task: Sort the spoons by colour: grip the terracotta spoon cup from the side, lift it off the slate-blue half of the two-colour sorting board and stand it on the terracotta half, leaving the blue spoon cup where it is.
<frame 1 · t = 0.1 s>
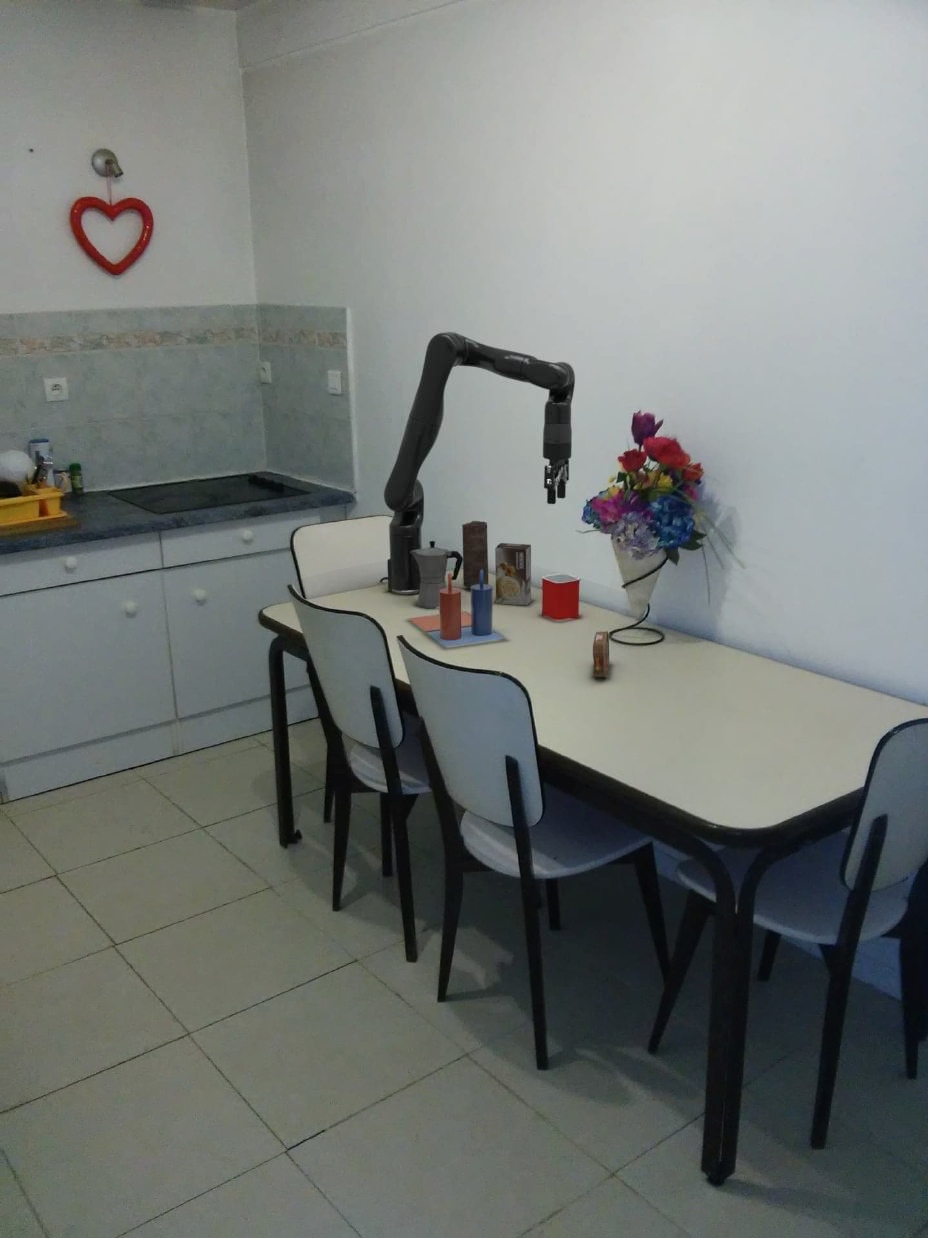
hand: (556, 500, 285), 29 cm above the table, tool pointing down, fingers open, 8 cm apart
tin: (600, 672, 243), on the table
candle: (475, 589, 312), on the table
coffee box: (513, 602, 298), on the table
mug: (556, 615, 286), on the table
sorting board: (455, 630, 274), on the table
coffeepot: (437, 605, 296), on the table
terracotta spoon cup: (450, 637, 266), point 1 cm above the table, touching sorting board
blue spoon cup: (481, 632, 269), point 1 cm above the table, touching sorting board
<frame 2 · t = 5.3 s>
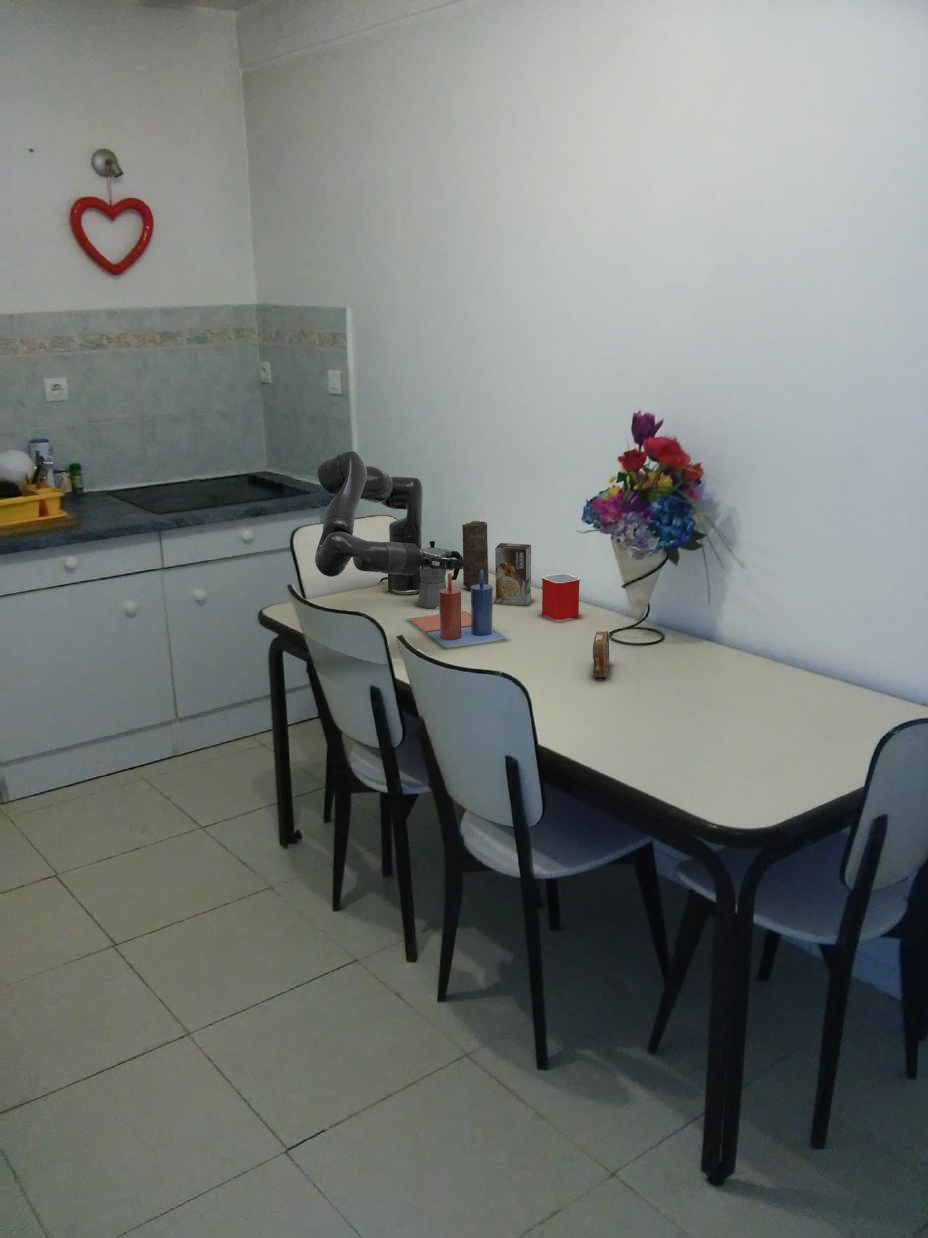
hand: (452, 562, 258), 20 cm above the table, tool horizontal, fingers open, 8 cm apart
nothing on the table moved.
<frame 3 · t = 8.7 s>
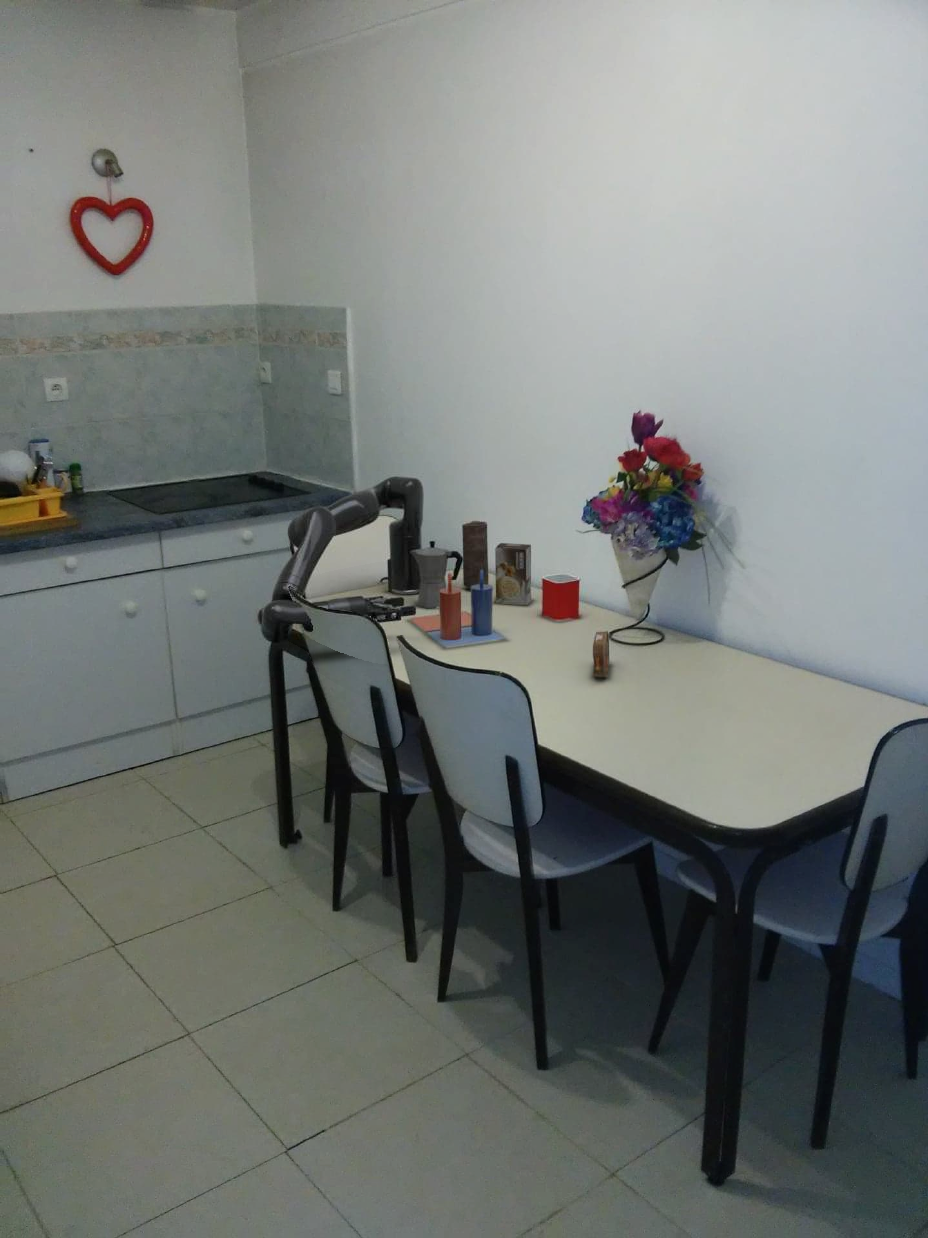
hand: (409, 605, 259), 10 cm above the table, tool horizontal, fingers open, 8 cm apart
nothing on the table moved.
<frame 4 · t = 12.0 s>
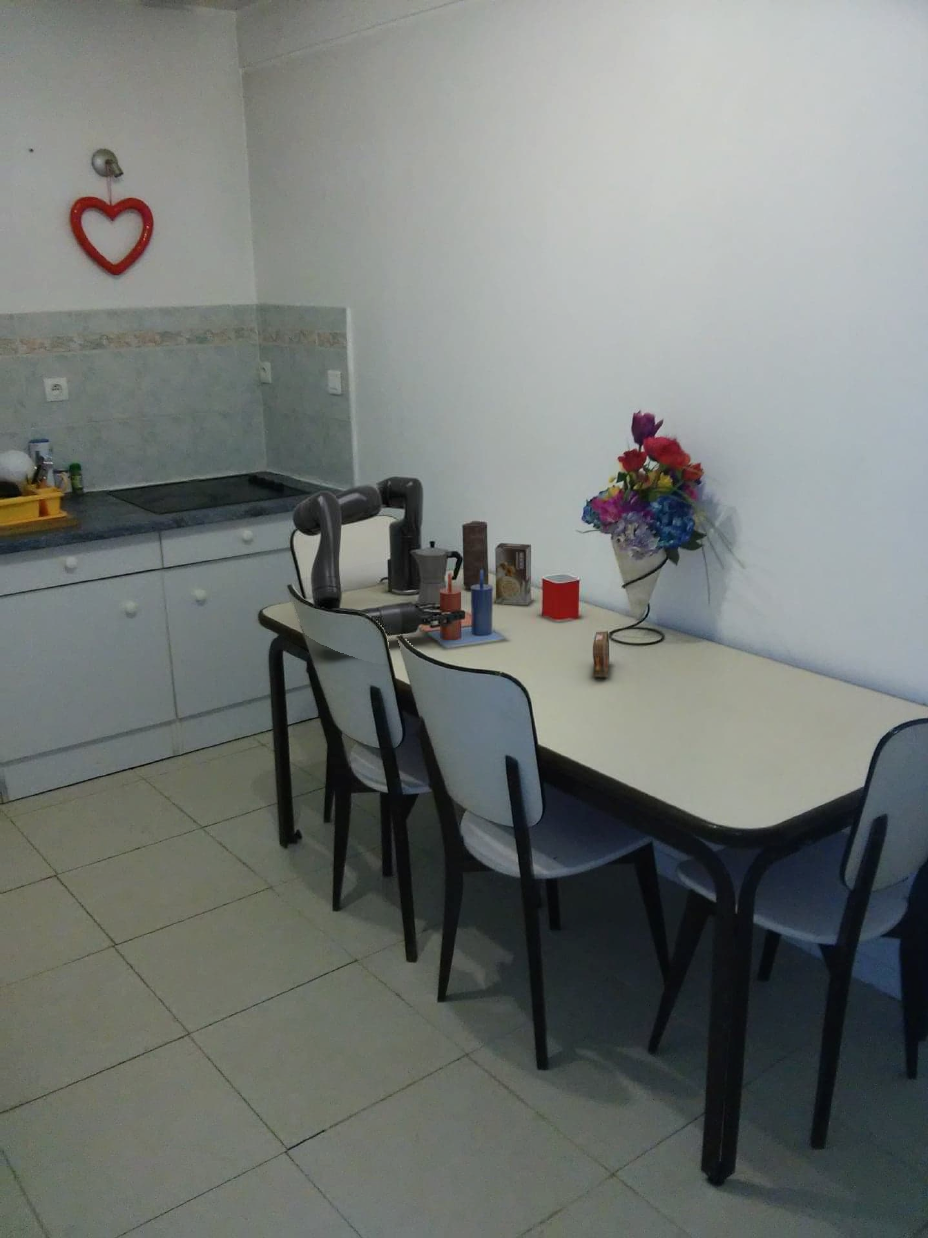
hand: (459, 611, 265), 7 cm above the table, tool horizontal, fingers closed on terracotta spoon cup, 5 cm apart
terracotta spoon cup: (450, 637, 266), point 1 cm above the table, touching gripper, sorting board
everything else where it was.
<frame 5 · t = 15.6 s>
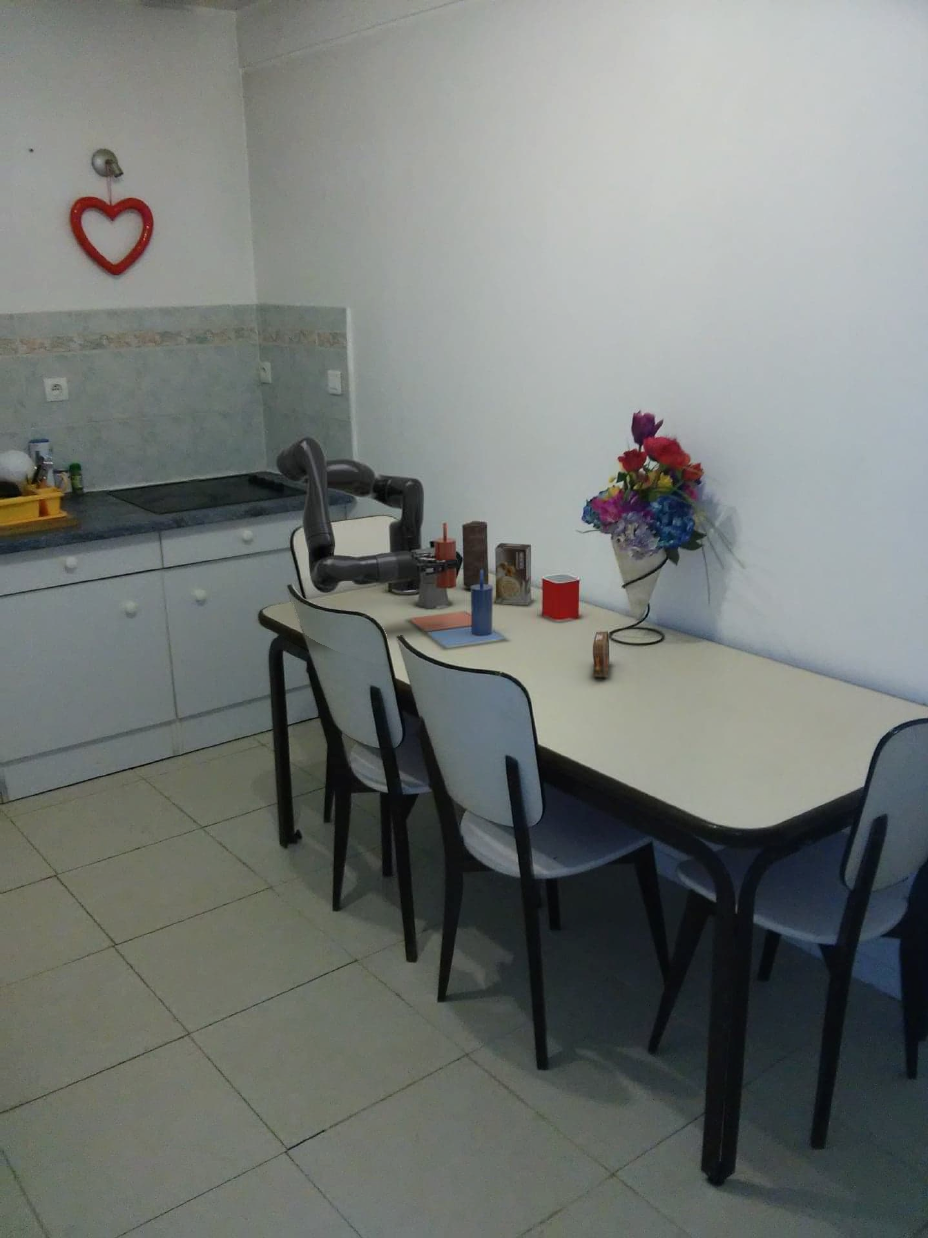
hand: (454, 560, 271), 18 cm above the table, tool horizontal, fingers closed on terracotta spoon cup, 5 cm apart
terracotta spoon cup: (445, 585, 272), point 11 cm above the table, touching gripper
everything else where it was.
when the fingers open (7 cm above the table, at t = 19.5 s): terracotta spoon cup stays where it is, resting on sorting board.
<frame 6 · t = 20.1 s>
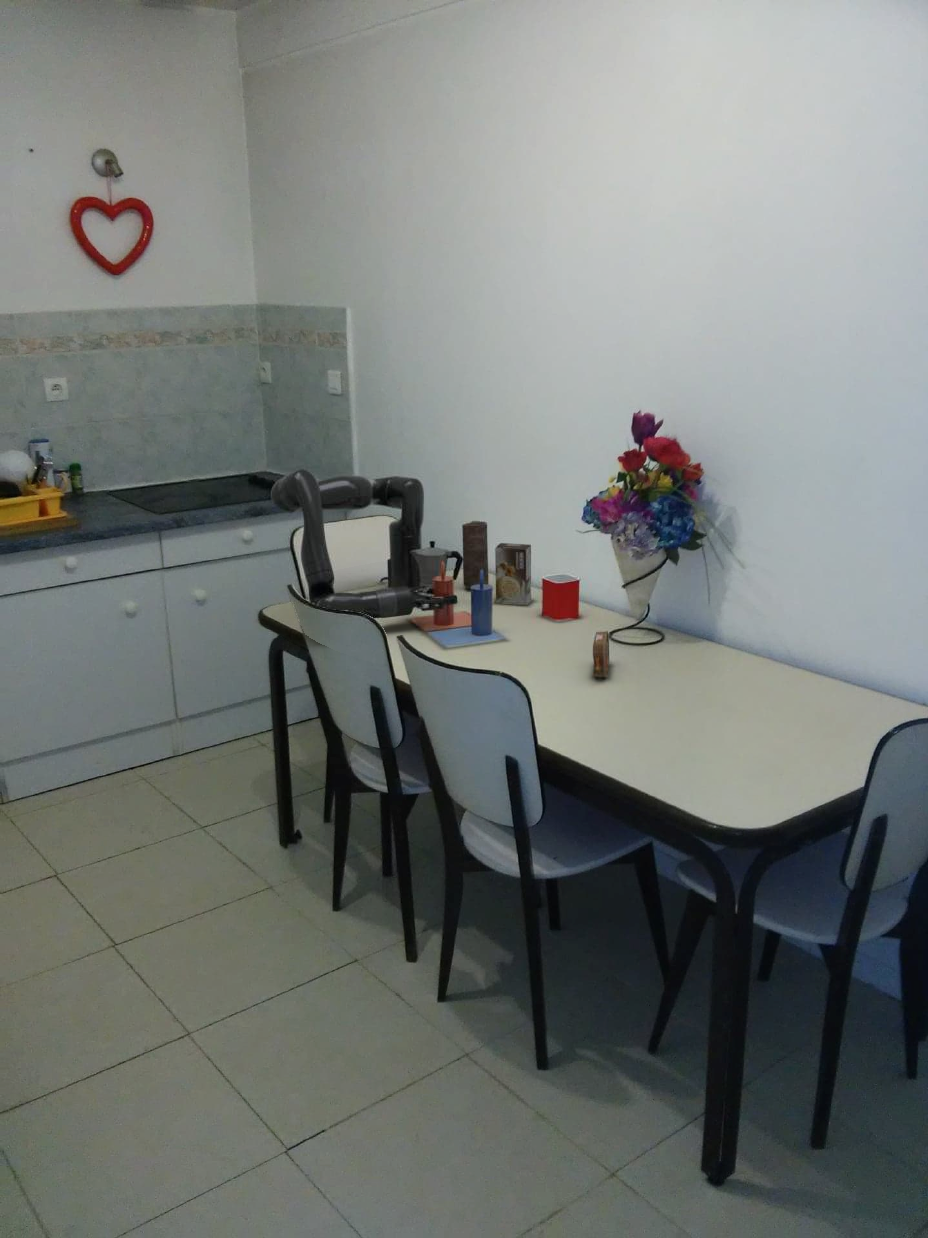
hand: (450, 594, 277), 8 cm above the table, tool horizontal, fingers open, 8 cm apart
terracotta spoon cup: (443, 622, 278), point 1 cm above the table, touching sorting board
everything else where it was.
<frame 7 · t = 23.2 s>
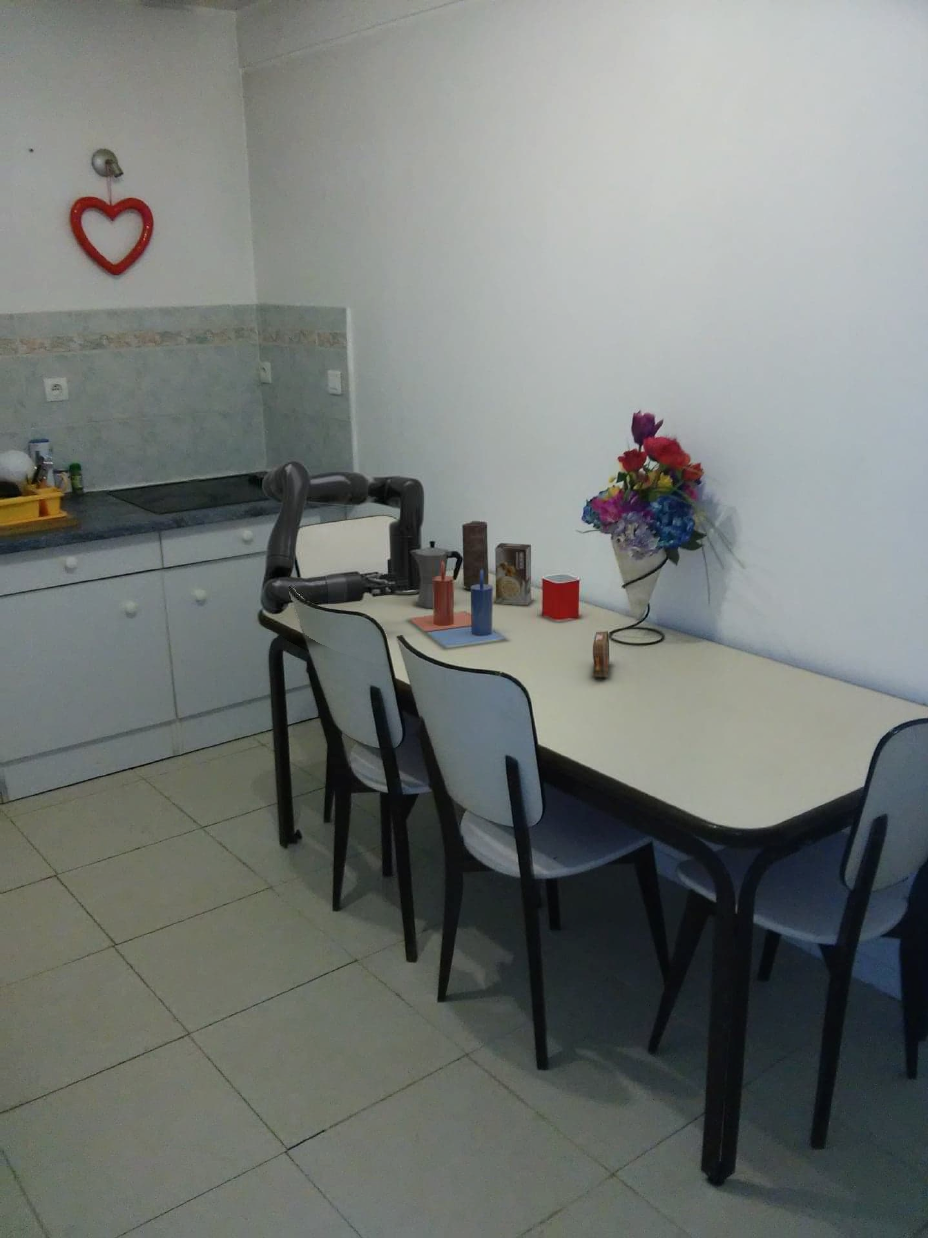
hand: (403, 580, 270), 13 cm above the table, tool horizontal, fingers open, 8 cm apart
nothing on the table moved.
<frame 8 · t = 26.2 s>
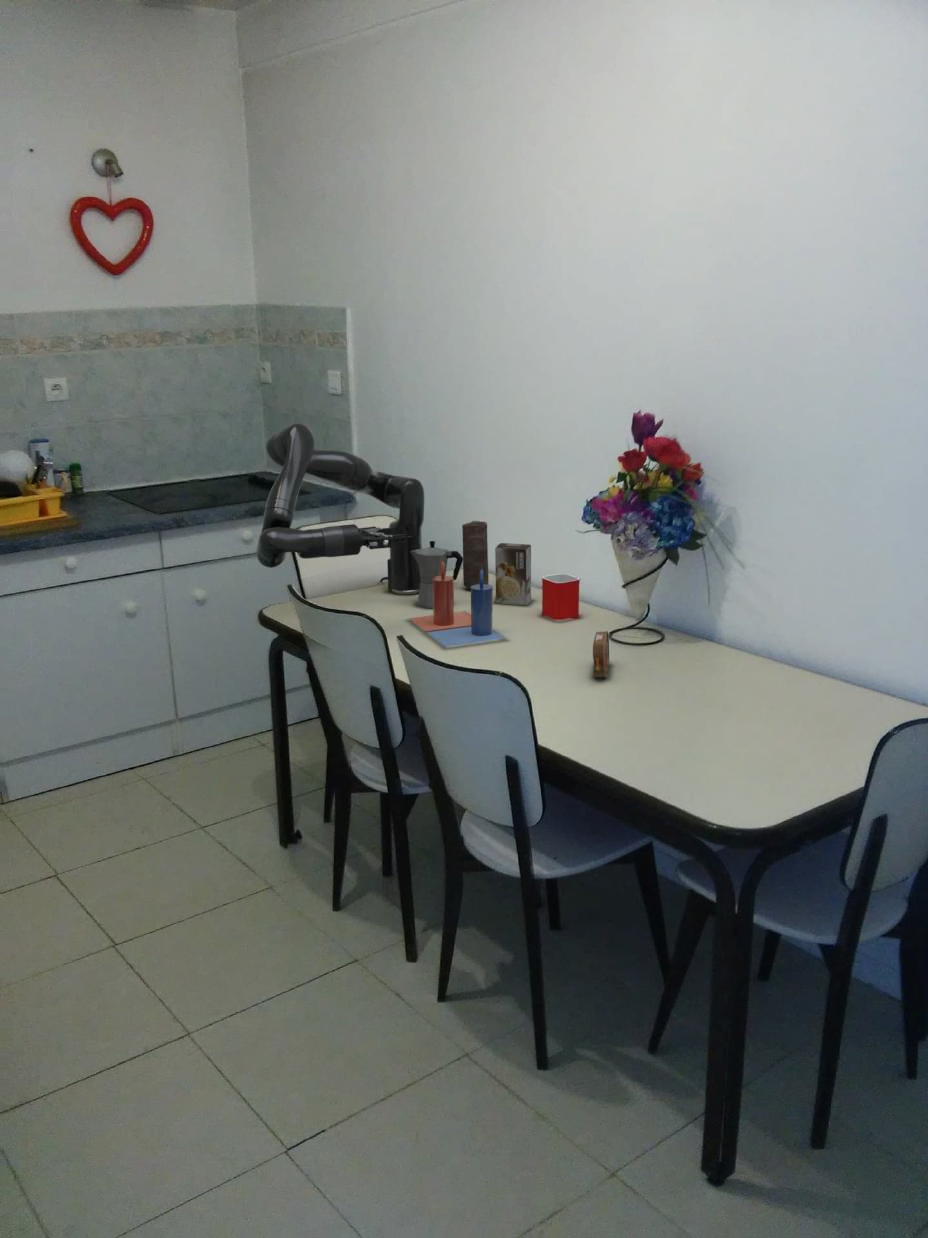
hand: (401, 534, 267), 25 cm above the table, tool horizontal, fingers open, 8 cm apart
nothing on the table moved.
at the end: terracotta spoon cup inside the target area (0.2 cm from its centre), point 0.6 cm above the table; terracotta spoon cup tilted 0°; blue spoon cup moved 0.0 cm from its start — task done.
